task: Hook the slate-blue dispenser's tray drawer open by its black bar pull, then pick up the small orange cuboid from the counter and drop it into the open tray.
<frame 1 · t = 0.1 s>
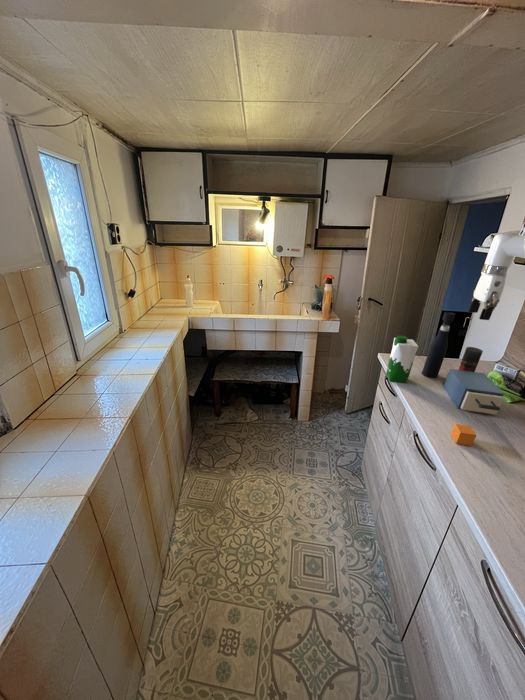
hand: (478, 315, 109), 32 cm above the counter, tool pointing down, fingers open, 9 cm apart
dispenser tray: (476, 396, 107), point 5 cm above the counter, slide at 0.5 cm
small orange cuboid: (460, 440, 91), on the counter
dispenser: (467, 399, 113), on the counter
milk carton: (396, 378, 127), on the counter
deodorant: (462, 379, 128), on the counter
wine bottle: (429, 375, 131), on the counter
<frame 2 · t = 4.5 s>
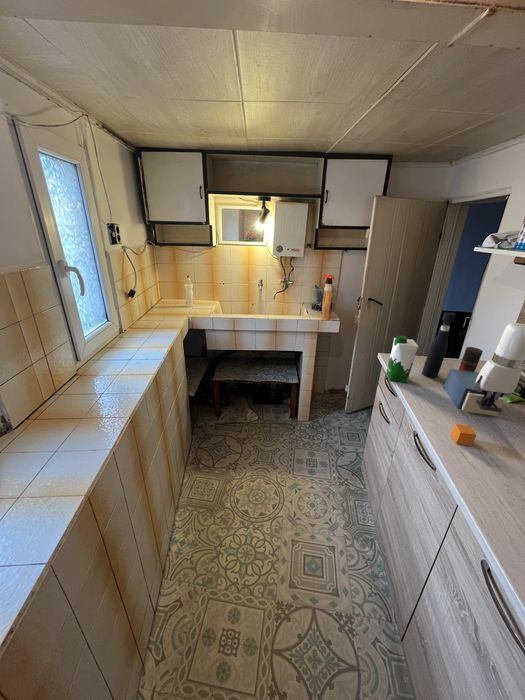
hand: (485, 406, 100), 5 cm above the counter, tool pointing down, fingers closed
dispenser tray: (477, 397, 106), point 5 cm above the counter, slide at 1.4 cm
everything else where it was.
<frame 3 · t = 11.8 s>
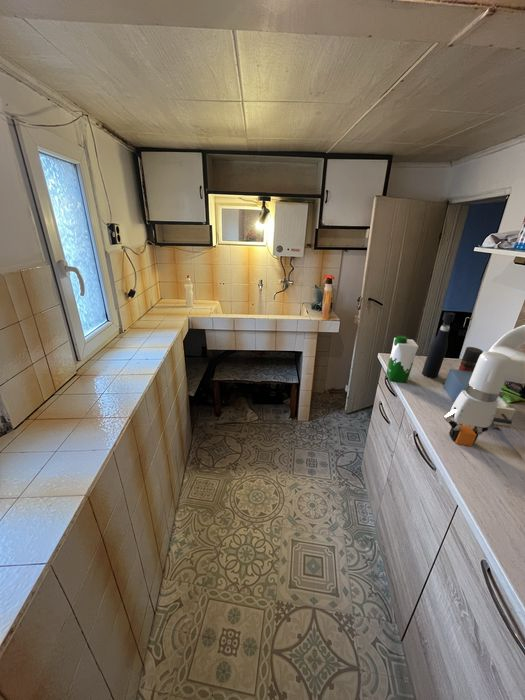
hand: (461, 439, 91), 0 cm above the counter, tool pointing down, fingers closed on small orange cuboid, 4 cm apart
dispenser tray: (485, 407, 100), point 5 cm above the counter, slide at 7.9 cm
small orange cuboid: (460, 440, 91), on the counter, touching gripper
everything else where it was.
when the fingers open (7 cm above the counter, at t = 18.5 s): small orange cuboid stays where it is, resting on dispenser tray.
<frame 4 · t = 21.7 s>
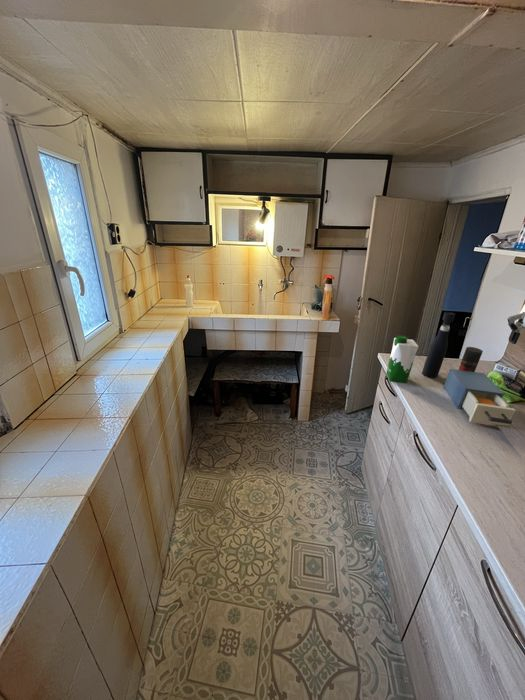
dispenser tray: (485, 407, 100), point 5 cm above the counter, slide at 7.9 cm, touching small orange cuboid
small orange cuboid: (482, 412, 102), point 2 cm above the counter, touching dispenser tray
everything else where it was.
at the end: dispenser tray slide at 7.9 cm; small orange cuboid inside the target area in the dispenser tray (4.2 cm from its centre), point 2.0 cm above the dispenser's base; the gripper is holding nothing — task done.
